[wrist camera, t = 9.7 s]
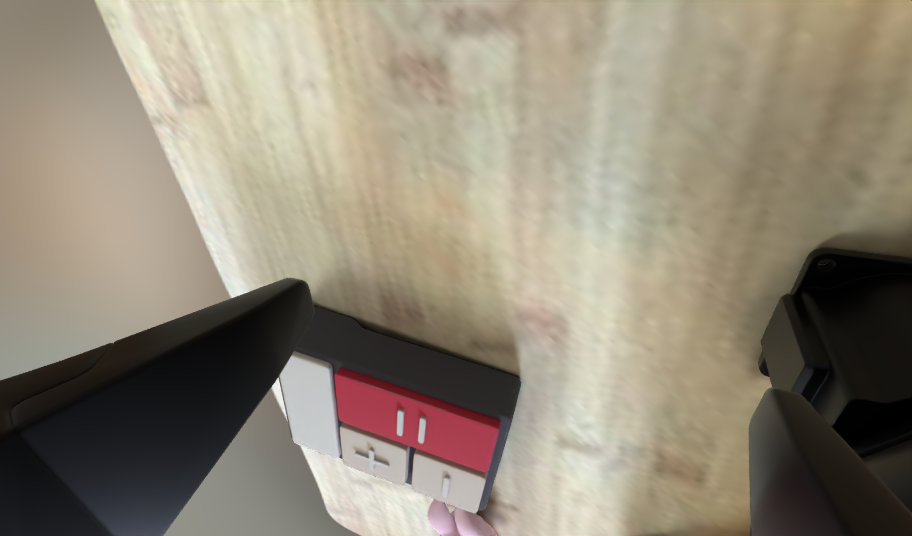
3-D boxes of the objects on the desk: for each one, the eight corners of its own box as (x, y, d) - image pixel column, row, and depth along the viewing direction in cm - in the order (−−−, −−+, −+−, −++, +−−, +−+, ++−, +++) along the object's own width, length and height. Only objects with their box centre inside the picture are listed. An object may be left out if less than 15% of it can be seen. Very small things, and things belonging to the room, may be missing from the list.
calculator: (481, 524, 30) (284, 449, 33) (496, 466, 33) (316, 403, 36) (510, 429, 23) (260, 346, 26) (525, 369, 27) (302, 301, 30)
